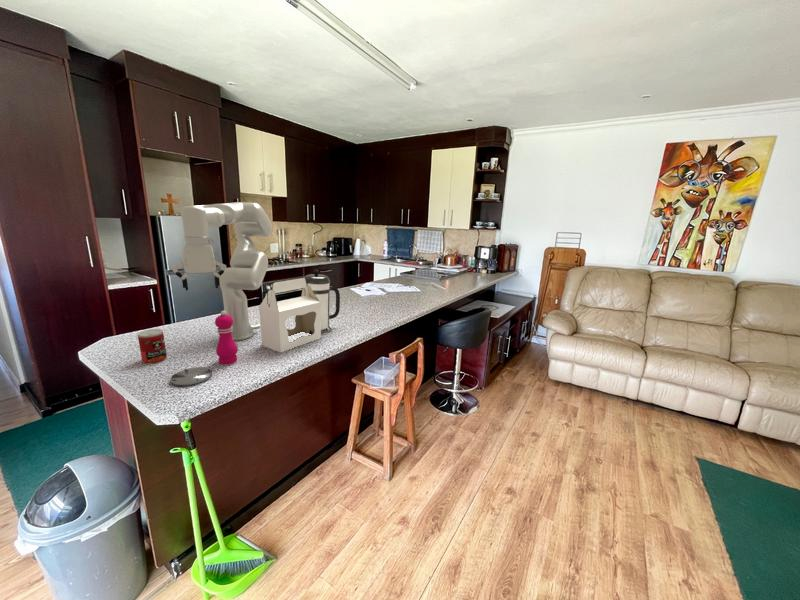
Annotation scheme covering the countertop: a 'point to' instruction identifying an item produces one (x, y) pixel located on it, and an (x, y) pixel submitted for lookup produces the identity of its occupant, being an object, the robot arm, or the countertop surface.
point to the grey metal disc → (191, 376)
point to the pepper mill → (225, 340)
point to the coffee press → (323, 296)
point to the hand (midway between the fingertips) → (202, 288)
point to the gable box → (278, 312)
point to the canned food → (152, 345)
